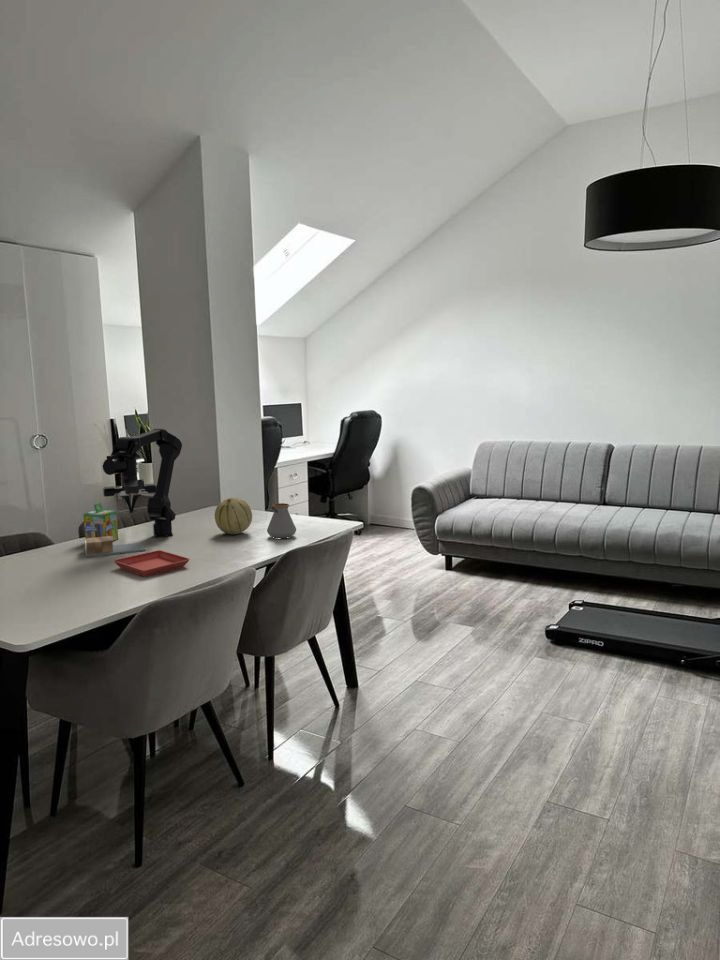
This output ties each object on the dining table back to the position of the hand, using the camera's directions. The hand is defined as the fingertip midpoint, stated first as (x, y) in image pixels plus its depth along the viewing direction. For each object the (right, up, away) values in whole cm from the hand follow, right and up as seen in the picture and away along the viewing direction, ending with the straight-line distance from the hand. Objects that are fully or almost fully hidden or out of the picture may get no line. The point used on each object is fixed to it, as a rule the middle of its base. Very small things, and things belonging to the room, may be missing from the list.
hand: (131, 512), depth 264 cm
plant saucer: (+16, -18, -29) cm, 37 cm away
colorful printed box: (-14, -12, +9) cm, 20 cm away
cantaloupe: (+35, -10, +20) cm, 41 cm away
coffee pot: (+54, -11, +9) cm, 56 cm away
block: (-5, -11, -6) cm, 14 cm away
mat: (-4, -13, -5) cm, 15 cm away
